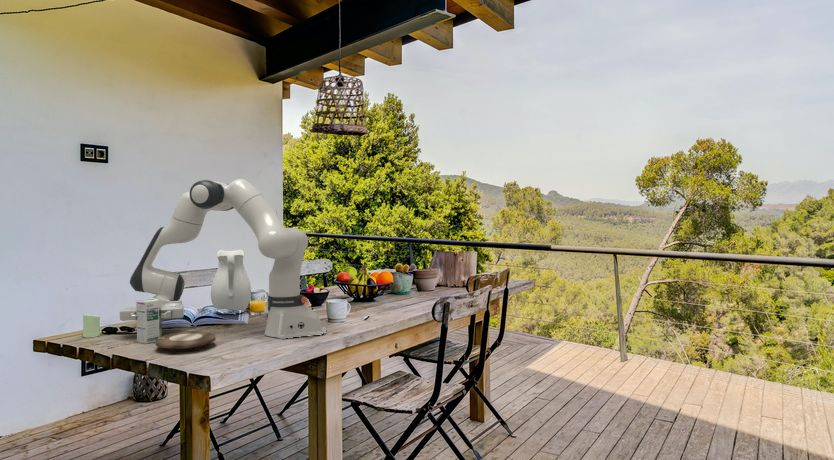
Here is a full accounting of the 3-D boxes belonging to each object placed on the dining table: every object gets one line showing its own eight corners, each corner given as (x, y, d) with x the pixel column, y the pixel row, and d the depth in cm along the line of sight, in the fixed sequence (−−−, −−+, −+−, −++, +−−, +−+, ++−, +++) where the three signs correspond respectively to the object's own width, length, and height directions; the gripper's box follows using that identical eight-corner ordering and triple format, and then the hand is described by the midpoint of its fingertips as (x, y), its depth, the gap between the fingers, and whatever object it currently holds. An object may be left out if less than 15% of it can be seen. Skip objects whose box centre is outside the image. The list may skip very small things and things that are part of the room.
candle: (95, 333, 184) (95, 311, 184) (102, 335, 181) (102, 313, 181) (80, 336, 180) (80, 313, 180) (87, 338, 177) (87, 315, 177)
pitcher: (212, 310, 231) (212, 249, 231) (251, 308, 236) (251, 249, 236) (207, 320, 209) (207, 253, 208) (250, 318, 214) (250, 252, 213)
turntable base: (205, 342, 172) (205, 337, 172) (199, 350, 163) (199, 345, 163) (173, 344, 170) (173, 339, 170) (165, 352, 160) (165, 346, 160)
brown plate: (219, 333, 177) (219, 329, 177) (210, 346, 160) (210, 342, 160) (163, 336, 173) (163, 332, 173) (148, 349, 156) (148, 345, 156)
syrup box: (145, 344, 170) (145, 301, 170) (136, 341, 173) (136, 299, 173) (162, 340, 175) (162, 299, 174) (152, 338, 178) (152, 297, 178)
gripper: (124, 302, 183) (114, 309, 170) (186, 300, 189) (180, 306, 176) (124, 319, 183) (114, 328, 170) (186, 317, 189) (180, 324, 176)
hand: (148, 317), depth 173 cm, fingers closed on syrup box, 8 cm apart
